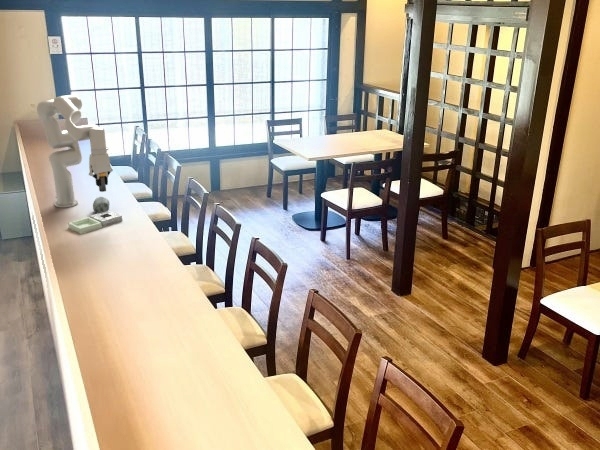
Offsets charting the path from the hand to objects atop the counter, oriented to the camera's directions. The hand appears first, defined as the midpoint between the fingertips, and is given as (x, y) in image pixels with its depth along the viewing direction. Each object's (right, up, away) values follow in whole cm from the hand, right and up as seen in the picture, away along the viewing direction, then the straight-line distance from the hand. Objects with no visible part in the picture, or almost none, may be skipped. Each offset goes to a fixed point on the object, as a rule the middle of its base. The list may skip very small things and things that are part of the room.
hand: (102, 184), depth 297 cm
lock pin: (0, -3, +1) cm, 3 cm away
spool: (-7, -14, +20) cm, 26 cm away
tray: (-8, -23, -3) cm, 24 cm away
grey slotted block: (0, -19, +7) cm, 20 cm away
